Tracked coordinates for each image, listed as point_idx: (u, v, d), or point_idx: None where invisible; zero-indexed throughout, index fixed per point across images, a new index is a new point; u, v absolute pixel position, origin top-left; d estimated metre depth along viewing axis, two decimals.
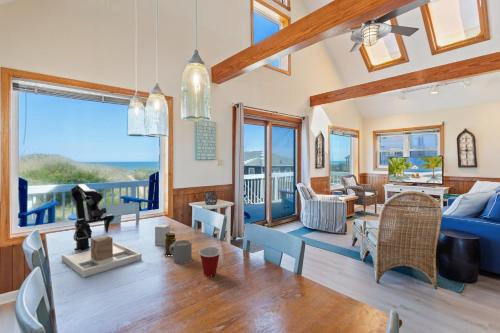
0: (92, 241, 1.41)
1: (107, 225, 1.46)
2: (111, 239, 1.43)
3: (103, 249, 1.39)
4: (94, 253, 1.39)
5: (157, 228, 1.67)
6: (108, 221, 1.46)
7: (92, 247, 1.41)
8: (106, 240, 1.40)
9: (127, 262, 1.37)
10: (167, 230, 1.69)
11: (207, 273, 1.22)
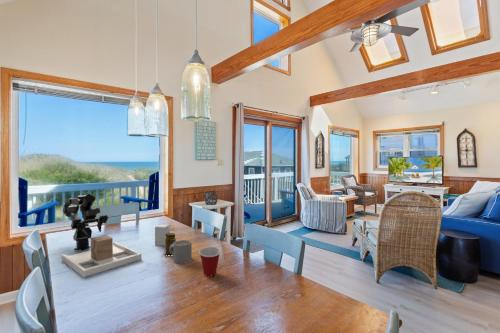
0: (92, 241, 1.41)
1: (100, 225, 1.53)
2: (111, 239, 1.43)
3: (103, 249, 1.39)
4: (94, 253, 1.39)
5: (157, 228, 1.67)
6: (100, 221, 1.54)
7: (92, 247, 1.41)
8: (106, 240, 1.40)
9: (127, 262, 1.37)
10: (167, 230, 1.69)
11: (207, 273, 1.22)
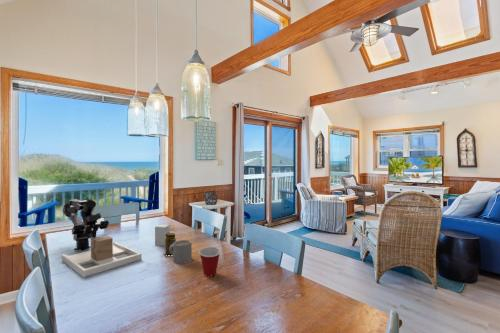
0: (92, 241, 1.41)
1: (95, 231, 1.50)
2: (111, 239, 1.43)
3: (103, 249, 1.39)
4: (94, 253, 1.39)
5: (157, 228, 1.67)
6: (95, 227, 1.51)
7: (92, 247, 1.41)
8: (106, 240, 1.40)
9: (127, 262, 1.37)
10: (167, 230, 1.69)
11: (207, 273, 1.22)
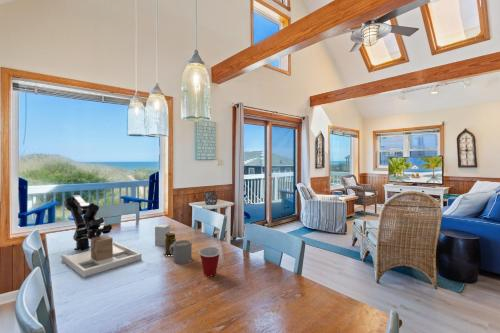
0: (92, 241, 1.41)
1: (98, 236, 1.48)
2: (111, 239, 1.43)
3: (103, 249, 1.39)
4: (94, 253, 1.39)
5: (157, 228, 1.67)
6: (98, 232, 1.49)
7: (92, 247, 1.41)
8: (106, 240, 1.40)
9: (127, 262, 1.37)
10: (167, 230, 1.69)
11: (207, 273, 1.22)
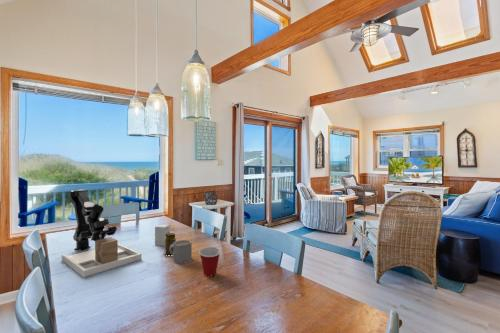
0: (97, 243, 1.37)
1: (102, 238, 1.44)
2: (116, 241, 1.39)
3: (108, 252, 1.35)
4: (99, 255, 1.35)
5: (157, 228, 1.67)
6: (103, 234, 1.45)
7: (97, 249, 1.37)
8: (111, 242, 1.36)
9: (127, 262, 1.37)
10: (167, 230, 1.69)
11: (207, 273, 1.22)
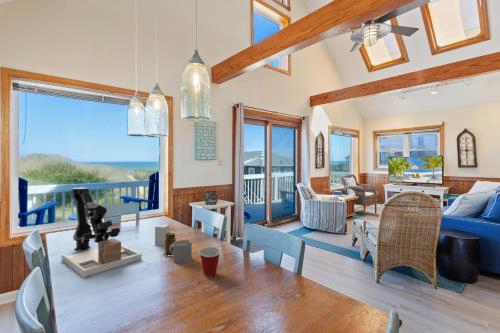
0: (100, 245, 1.34)
1: None
2: (120, 243, 1.36)
3: (112, 254, 1.33)
4: (102, 257, 1.32)
5: (157, 228, 1.67)
6: (106, 236, 1.42)
7: (100, 251, 1.34)
8: (114, 244, 1.34)
9: (127, 262, 1.37)
10: (167, 230, 1.69)
11: (207, 273, 1.22)
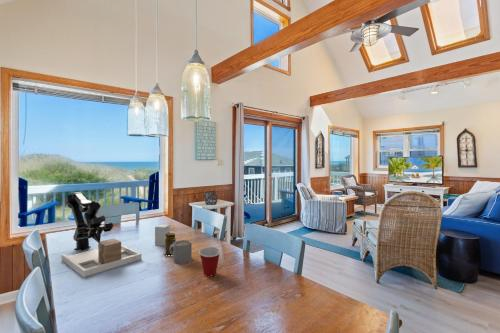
0: (100, 245, 1.34)
1: (99, 234, 1.47)
2: (120, 243, 1.36)
3: (112, 254, 1.33)
4: (102, 257, 1.32)
5: (157, 228, 1.67)
6: (100, 230, 1.47)
7: (100, 251, 1.34)
8: (115, 244, 1.34)
9: (127, 262, 1.37)
10: (167, 230, 1.69)
11: (207, 273, 1.22)
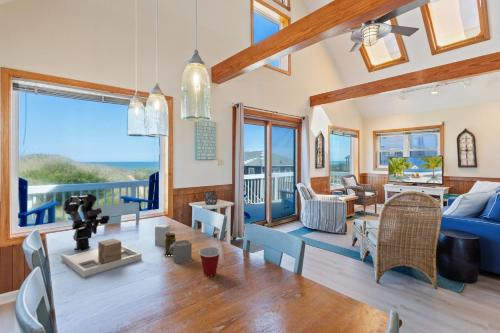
0: (100, 245, 1.34)
1: (95, 226, 1.50)
2: (120, 243, 1.36)
3: (112, 254, 1.33)
4: (102, 257, 1.32)
5: (157, 228, 1.67)
6: (96, 222, 1.51)
7: (100, 251, 1.34)
8: (115, 244, 1.34)
9: (127, 262, 1.37)
10: (167, 230, 1.69)
11: (207, 273, 1.22)
